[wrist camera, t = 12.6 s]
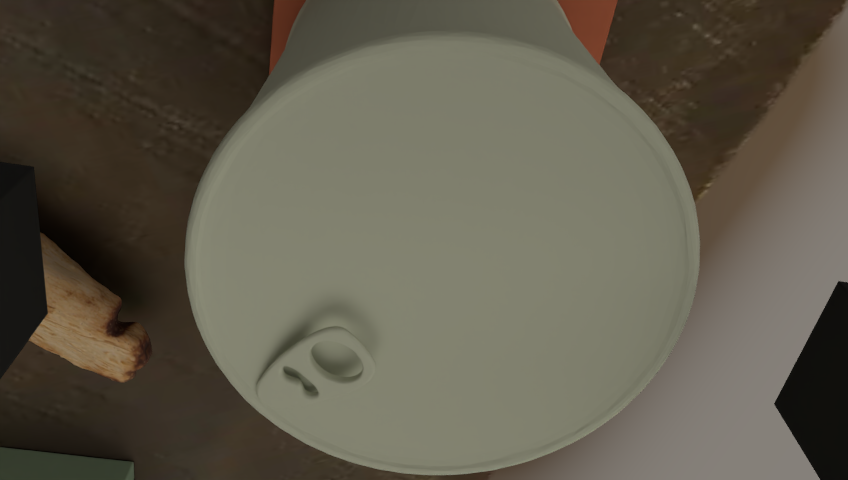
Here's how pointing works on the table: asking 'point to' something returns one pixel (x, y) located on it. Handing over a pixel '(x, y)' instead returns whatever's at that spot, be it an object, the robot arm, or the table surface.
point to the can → (440, 237)
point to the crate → (60, 466)
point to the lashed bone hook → (87, 321)
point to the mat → (582, 3)
